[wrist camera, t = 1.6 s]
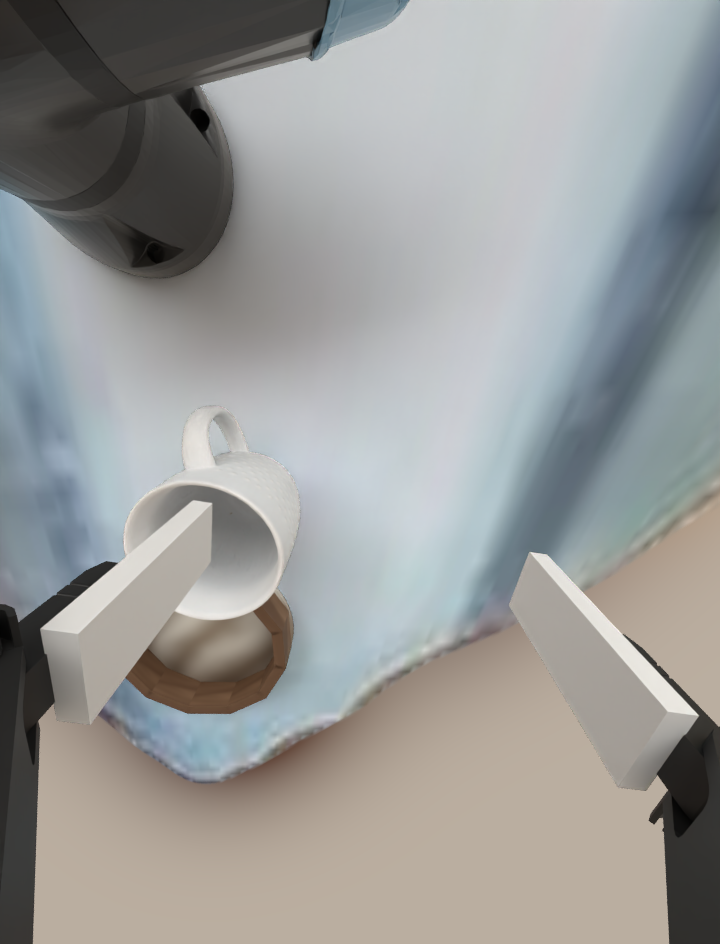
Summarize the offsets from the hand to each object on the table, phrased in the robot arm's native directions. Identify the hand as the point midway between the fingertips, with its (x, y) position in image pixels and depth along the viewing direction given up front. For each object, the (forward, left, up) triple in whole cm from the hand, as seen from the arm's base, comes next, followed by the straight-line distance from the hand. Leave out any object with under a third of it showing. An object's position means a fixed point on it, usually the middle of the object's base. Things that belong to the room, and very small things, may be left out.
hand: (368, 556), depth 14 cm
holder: (-5, -29, -21) cm, 36 cm away
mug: (-8, -9, -21) cm, 24 cm away
